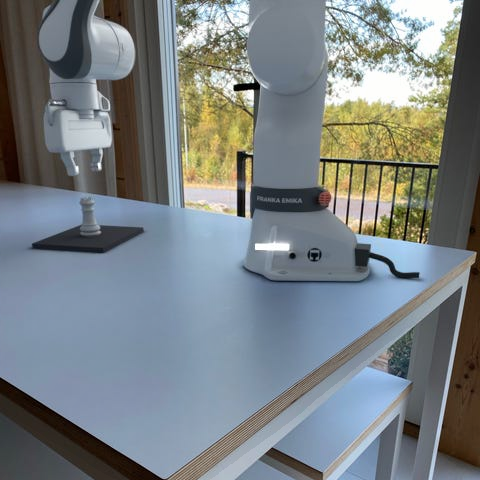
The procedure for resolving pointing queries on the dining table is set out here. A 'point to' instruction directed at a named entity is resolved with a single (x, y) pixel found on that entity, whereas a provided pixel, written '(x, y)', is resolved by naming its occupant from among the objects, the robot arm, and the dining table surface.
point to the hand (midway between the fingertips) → (85, 173)
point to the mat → (89, 239)
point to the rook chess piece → (88, 218)
